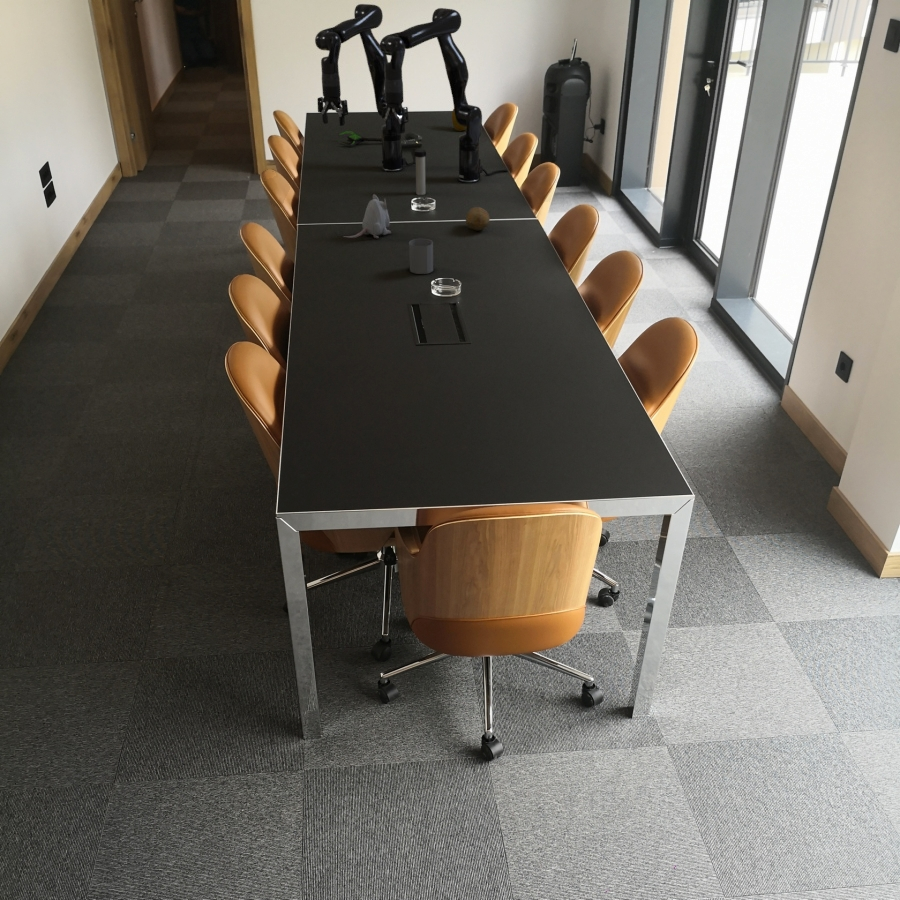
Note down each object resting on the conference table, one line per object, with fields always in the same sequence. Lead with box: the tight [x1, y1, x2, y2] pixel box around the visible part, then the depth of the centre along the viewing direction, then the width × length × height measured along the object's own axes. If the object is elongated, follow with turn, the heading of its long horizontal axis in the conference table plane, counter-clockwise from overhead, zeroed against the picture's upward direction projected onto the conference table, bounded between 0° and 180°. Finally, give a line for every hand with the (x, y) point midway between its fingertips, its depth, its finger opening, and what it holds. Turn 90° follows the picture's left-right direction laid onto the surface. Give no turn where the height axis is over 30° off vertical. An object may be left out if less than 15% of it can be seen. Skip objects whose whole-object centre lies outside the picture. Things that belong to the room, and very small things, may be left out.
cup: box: [408, 237, 434, 275], centre depth 305 cm, size 8×8×10 cm
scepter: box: [337, 130, 382, 148], centre depth 462 cm, size 6×13×30 cm
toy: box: [343, 193, 392, 239], centre depth 332 cm, size 9×24×15 cm, turn 137°
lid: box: [413, 149, 427, 157], centre depth 378 cm, size 5×5×2 cm
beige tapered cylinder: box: [414, 155, 427, 196], centre depth 382 cm, size 4×4×18 cm
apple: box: [451, 108, 467, 132], centre depth 487 cm, size 11×11×13 cm
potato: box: [465, 206, 491, 231], centre depth 344 cm, size 10×14×8 cm
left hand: (333, 124), depth 373 cm, fingers open, 8 cm apart
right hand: (395, 131), depth 363 cm, fingers open, 8 cm apart
